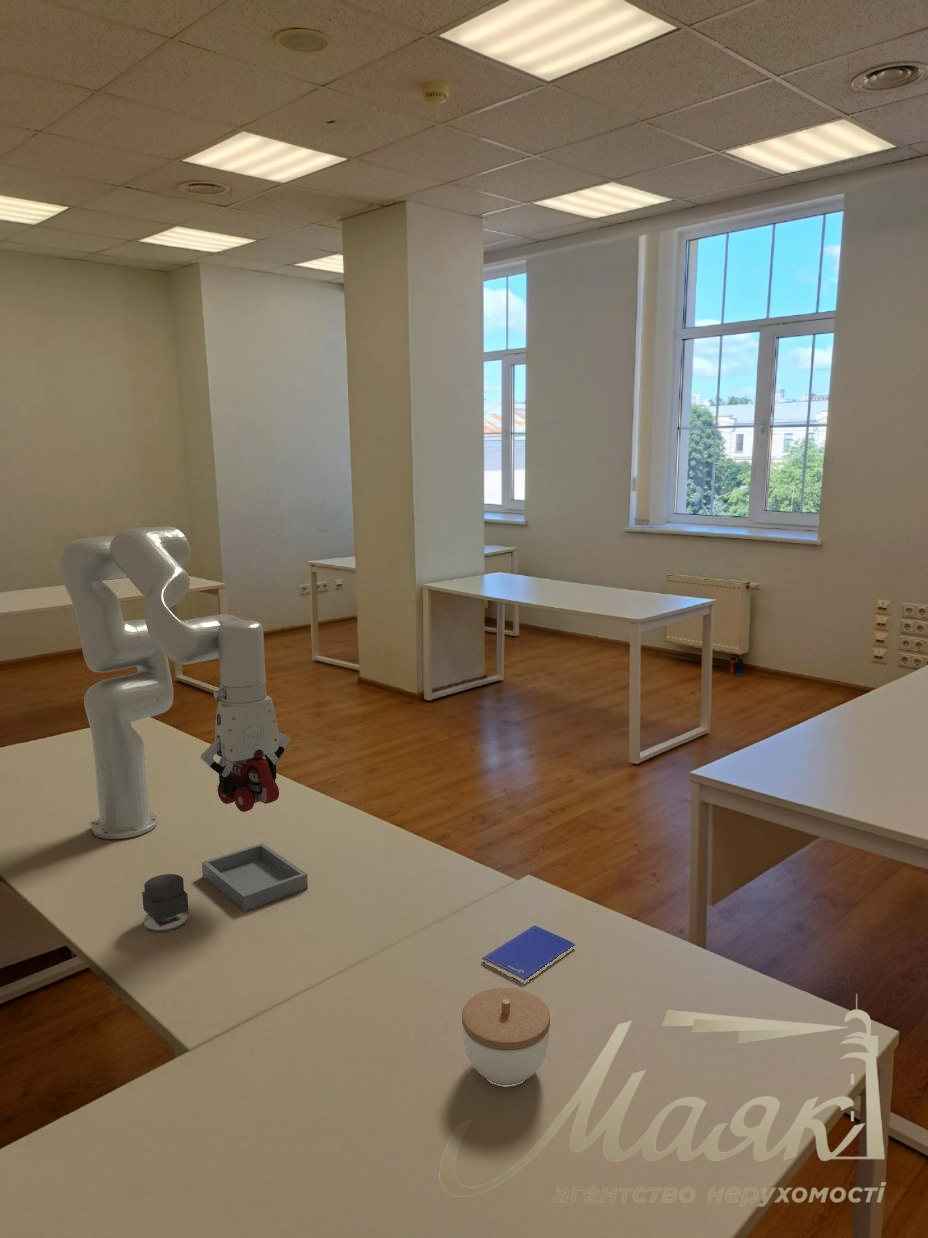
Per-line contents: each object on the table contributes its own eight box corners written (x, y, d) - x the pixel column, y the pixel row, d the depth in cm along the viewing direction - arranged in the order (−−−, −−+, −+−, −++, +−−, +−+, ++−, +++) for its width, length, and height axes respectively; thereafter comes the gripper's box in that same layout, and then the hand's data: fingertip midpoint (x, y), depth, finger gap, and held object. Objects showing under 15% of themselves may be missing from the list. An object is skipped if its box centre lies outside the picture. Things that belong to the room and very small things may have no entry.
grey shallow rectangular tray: (202, 876, 155) (201, 862, 155) (263, 856, 163) (262, 843, 162) (244, 912, 143) (243, 896, 142) (307, 888, 151) (307, 874, 150)
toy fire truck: (254, 818, 144) (251, 759, 142) (212, 799, 152) (209, 743, 150) (287, 805, 149) (285, 748, 147) (245, 788, 157) (242, 733, 155)
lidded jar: (484, 1113, 98) (484, 1040, 97) (448, 1055, 108) (448, 988, 106) (565, 1085, 103) (566, 1015, 101) (524, 1032, 112) (524, 967, 111)
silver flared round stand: (137, 920, 141) (135, 893, 140) (179, 905, 145) (177, 879, 144) (153, 937, 135) (151, 909, 134) (196, 922, 140) (194, 895, 139)
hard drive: (524, 978, 122) (575, 943, 131) (482, 956, 128) (533, 924, 137) (524, 988, 123) (575, 952, 132) (482, 966, 128) (533, 933, 137)
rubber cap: (140, 909, 140) (138, 881, 139) (176, 897, 144) (174, 870, 143) (154, 923, 136) (152, 895, 135) (191, 910, 139) (189, 883, 139)
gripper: (204, 706, 138) (211, 809, 141) (299, 688, 149) (303, 784, 153) (185, 697, 144) (192, 796, 147) (278, 680, 155) (282, 772, 158)
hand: (248, 789), depth 150 cm, fingers closed on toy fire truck, 7 cm apart
